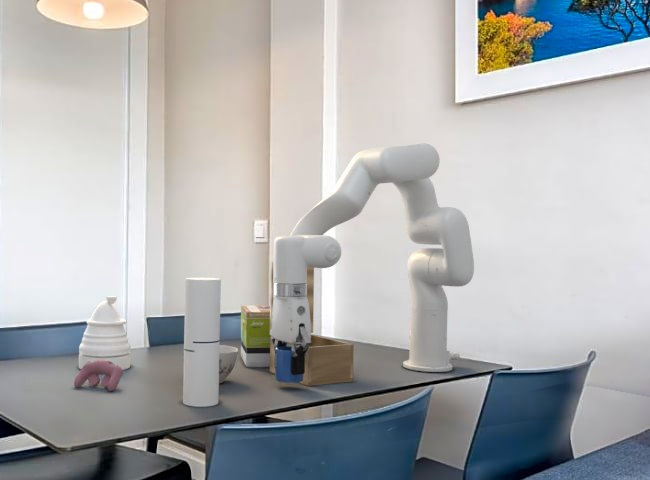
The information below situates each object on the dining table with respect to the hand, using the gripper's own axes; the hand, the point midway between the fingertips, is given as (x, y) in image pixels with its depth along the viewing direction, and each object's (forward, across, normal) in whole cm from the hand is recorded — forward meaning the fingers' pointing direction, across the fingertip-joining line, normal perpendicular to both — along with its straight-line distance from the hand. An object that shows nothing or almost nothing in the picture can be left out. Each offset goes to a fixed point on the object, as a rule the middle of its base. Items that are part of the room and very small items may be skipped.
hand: (289, 370), depth 151 cm
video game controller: (+4, +17, +38) cm, 42 cm away
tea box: (+4, +30, -10) cm, 32 cm away
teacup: (+4, +14, +14) cm, 20 cm away
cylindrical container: (+4, -4, +24) cm, 24 cm away
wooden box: (+4, +9, -12) cm, 15 cm away
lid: (-14, +18, -12) cm, 25 cm away
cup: (+2, 0, 0) cm, 2 cm away
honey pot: (+4, +40, +30) cm, 50 cm away
